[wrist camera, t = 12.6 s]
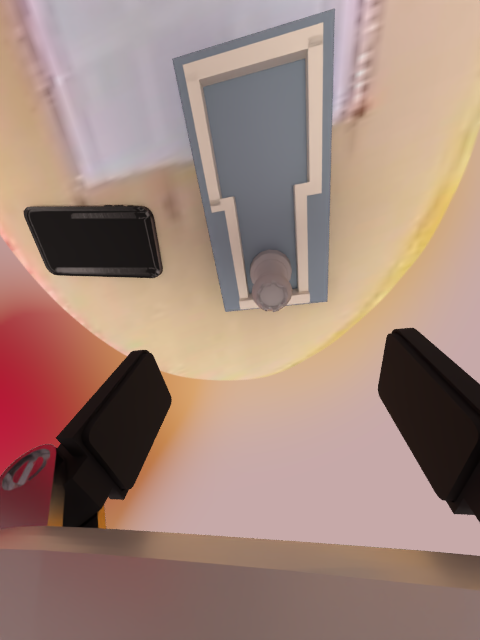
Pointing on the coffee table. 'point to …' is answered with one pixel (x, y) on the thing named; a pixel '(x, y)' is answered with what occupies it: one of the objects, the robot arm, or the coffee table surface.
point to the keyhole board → (264, 152)
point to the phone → (96, 240)
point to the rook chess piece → (271, 280)
